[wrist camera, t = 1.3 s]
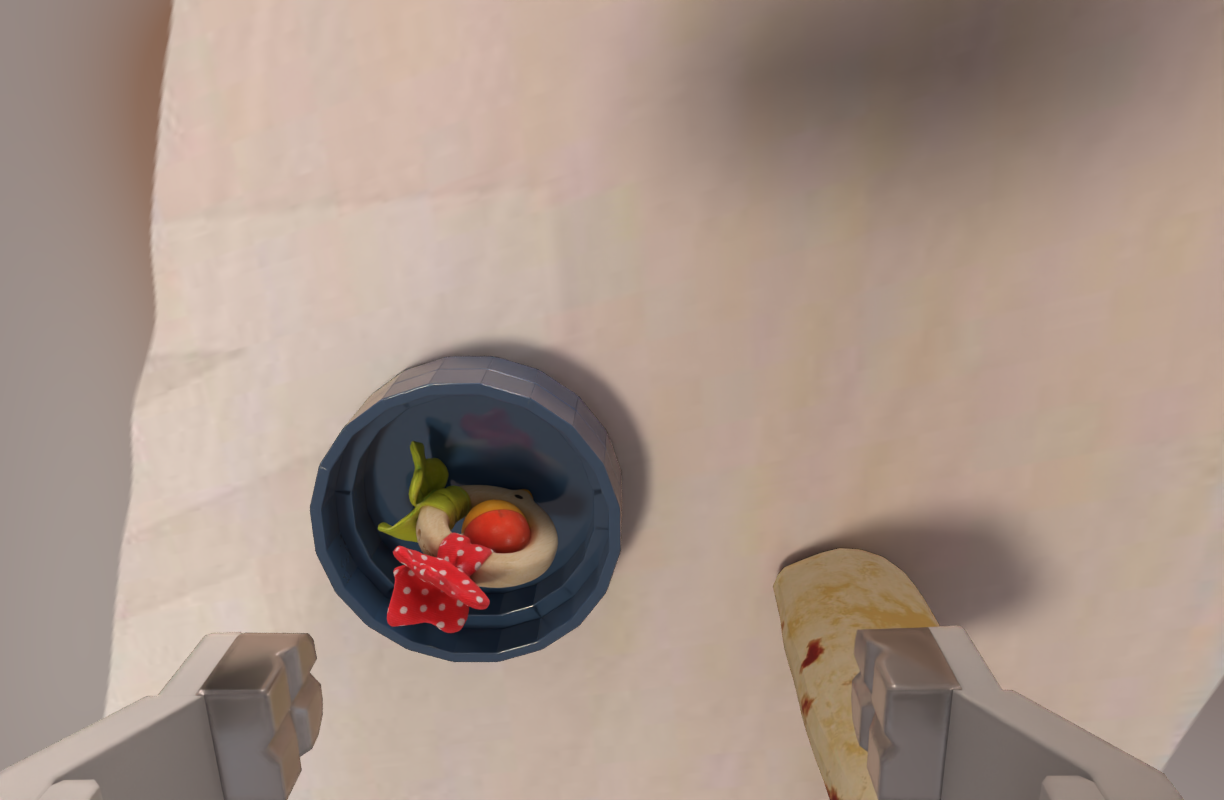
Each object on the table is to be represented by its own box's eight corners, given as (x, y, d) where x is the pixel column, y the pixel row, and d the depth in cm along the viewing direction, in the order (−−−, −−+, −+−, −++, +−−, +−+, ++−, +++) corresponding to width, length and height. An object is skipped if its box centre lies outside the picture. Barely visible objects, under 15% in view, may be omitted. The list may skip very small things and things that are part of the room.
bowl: (325, 355, 49) (292, 384, 45) (620, 352, 49) (618, 382, 44) (356, 611, 54) (329, 662, 50) (623, 611, 54) (622, 662, 49)
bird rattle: (532, 430, 52) (367, 431, 49) (605, 527, 43) (407, 537, 39) (518, 529, 54) (359, 537, 51) (585, 642, 45) (395, 662, 41)
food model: (746, 608, 54) (806, 899, 35) (797, 512, 52) (891, 765, 33) (897, 665, 55) (1036, 977, 36) (953, 573, 53) (1132, 852, 34)
